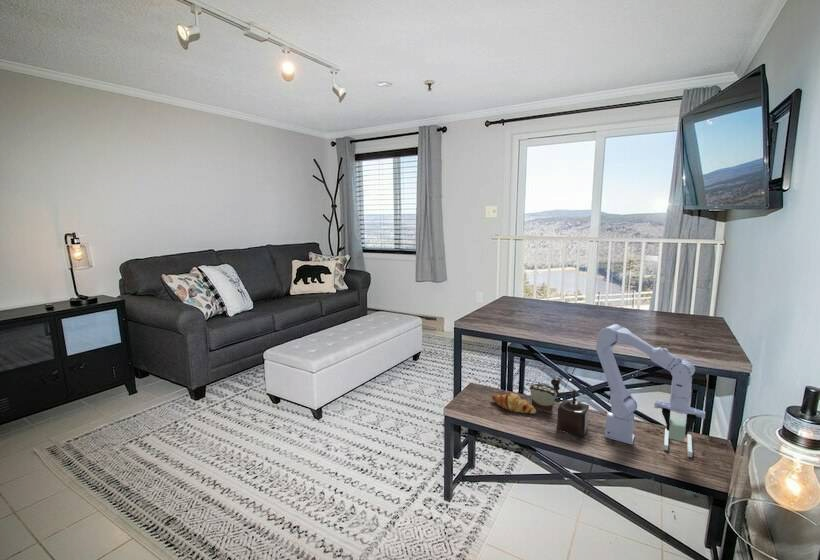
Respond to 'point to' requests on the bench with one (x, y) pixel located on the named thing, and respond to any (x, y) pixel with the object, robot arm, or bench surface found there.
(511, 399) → the croissant
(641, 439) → the bench surface
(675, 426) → the block
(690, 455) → the channel
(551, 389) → the food container
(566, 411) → the manual coffee grinder
